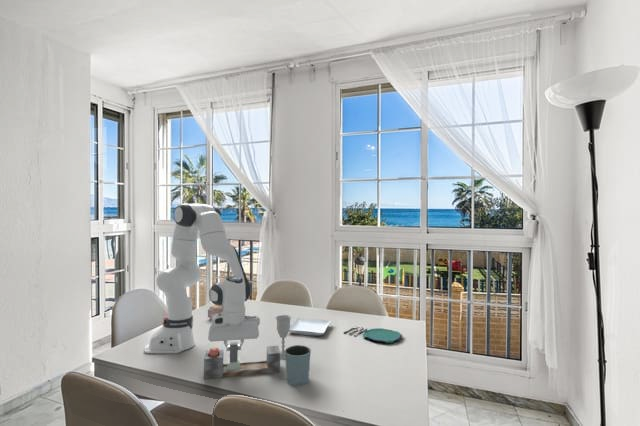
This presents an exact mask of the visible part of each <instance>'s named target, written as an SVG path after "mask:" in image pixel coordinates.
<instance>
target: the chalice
mask: <svg viewBox="0 0 640 426" xmlns="http://www.w3.org/2000/svg"><path fill="white" fill-rule="evenodd" d="M275 319H276V330H277V334H278V335H279V337H280V338H281V346H280V347H281V350H280V360H286V357H285V350H286V349H285V347H286V345H285V342H286V341H285V338H287V337H288V334H289V333H290V332H289V329H290V325H291V319H292V316H291V315H288V314H287V315H286V314H282V315H278V316H275Z"/></svg>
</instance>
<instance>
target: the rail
mask: <svg viewBox="0 0 640 426" xmlns="http://www.w3.org/2000/svg"><path fill="white" fill-rule="evenodd" d="M280 351H281V350H280V347H279V345H271V346H270V345H268V346H266V360H259V361H258V360H257V361H246V362H245V361H244V362H240V370H232V371H227V363H224V349H219V356H212V357H209V350H205V354H204V359H203V380H209V379H210V380H211V379H212V380H213V379H220V378H226V377H227V378H228V377H239V376H248V375H250V376H251V375H259V374H275V373H276V374H277V373H279V374H280V373H281V359H280Z"/></svg>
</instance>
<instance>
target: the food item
mask: <svg viewBox="0 0 640 426" xmlns="http://www.w3.org/2000/svg"><path fill="white" fill-rule="evenodd" d="M223 309H224V306H223V305H215V304H213V305H212V306H209V308H208V309H207V318H209V319H210V320H212V317H213V316H214V315H215V314H218V313H221V312H223Z"/></svg>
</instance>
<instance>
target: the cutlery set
mask: <svg viewBox="0 0 640 426" xmlns="http://www.w3.org/2000/svg"><path fill="white" fill-rule="evenodd" d="M360 327H361V326H360ZM360 327H358V328H360ZM361 328H363V327H361ZM361 328H360V331H358V330H359V329H357V328H356V329H355V328H353V327H351V328H350V329H348V330H346V331H343V335H344V334H347V333H348V335H353V333H356V332H357V333H356V334H354V335H353V337H354V336H355V337H356V336H357V335H359V334H362V338H363V337H364V338H366V339H368V340H371V341H375V342H379V343H386V344H392V343H394V342H398V341H400V340H401V338H402V336H403V334H402V333H400V331H396V330H392V329H385V328H380V327H378V328H370V329H367V328H365V329H361ZM352 329H354V330H353V331H352ZM366 329H367V330H366ZM350 330H351V331H352V332H351V331H350ZM365 330H366V331H365ZM363 331H364V332H363Z"/></svg>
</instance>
